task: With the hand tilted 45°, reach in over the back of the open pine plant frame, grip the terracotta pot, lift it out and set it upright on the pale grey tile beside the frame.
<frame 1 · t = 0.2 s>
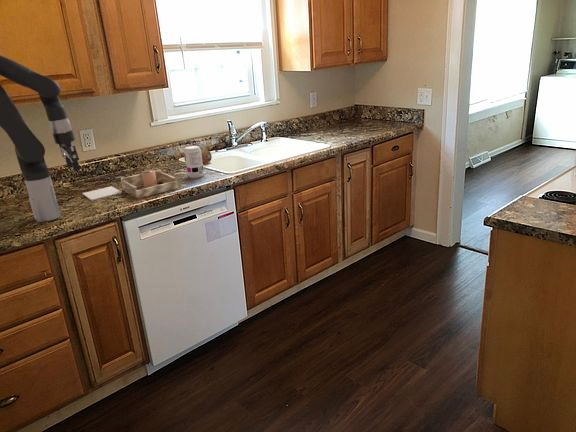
hand: (74, 168, 188), 18 cm above the counter, tool pointing down, fingers open, 8 cm apart
supplement can: (196, 176, 232), on the counter
pot: (151, 189, 214), resting in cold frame
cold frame: (150, 189, 215), on the counter
tile: (102, 193, 213), on the counter
tin: (199, 164, 255), on the counter
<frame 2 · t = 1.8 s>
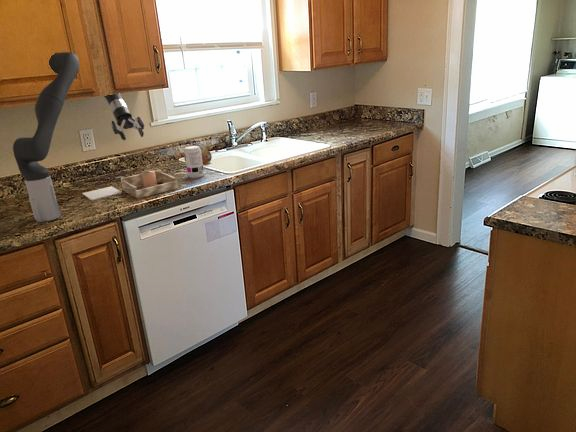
hand: (133, 137, 214), 24 cm above the counter, tool tilted 45°, fingers open, 8 cm apart
nothing on the counter moved.
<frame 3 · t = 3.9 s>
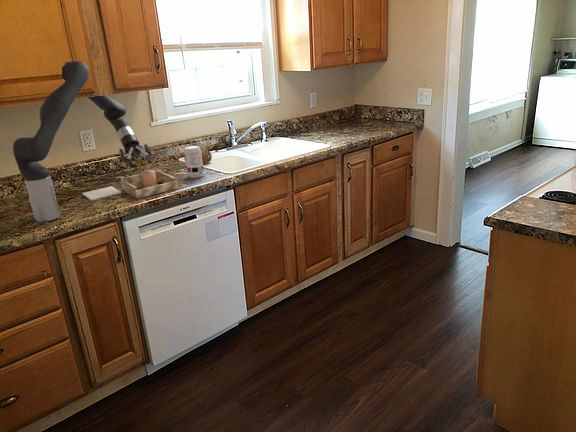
hand: (141, 164, 216), 11 cm above the counter, tool tilted 45°, fingers open, 8 cm apart
nothing on the counter moved.
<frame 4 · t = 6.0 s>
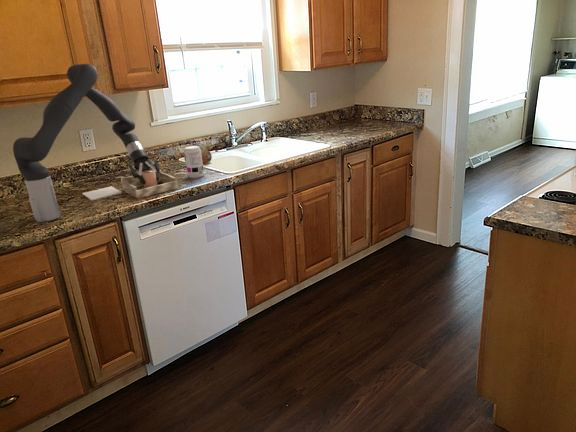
hand: (151, 181, 212), 4 cm above the counter, tool tilted 45°, fingers closed on pot, 6 cm apart
pot: (151, 189, 214), resting in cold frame, touching gripper
everything else where it was.
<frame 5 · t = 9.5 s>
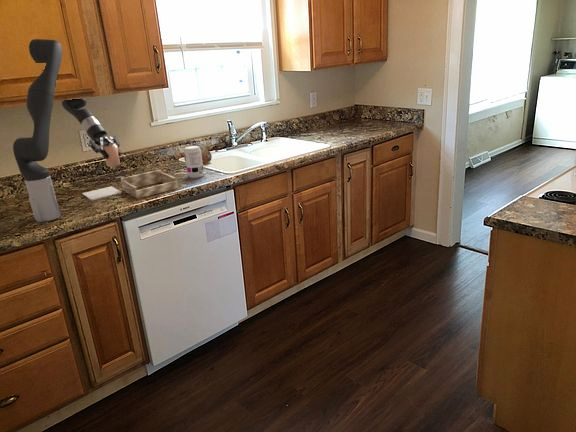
hand: (114, 156, 208), 17 cm above the counter, tool tilted 45°, fingers closed on pot, 6 cm apart
pot: (113, 164, 210), point 13 cm above the counter, touching gripper
everything else where it was.
when the fingers open (6 cm above the counter, at t = 13.0 s): pot drops 1 cm, resting on tile.
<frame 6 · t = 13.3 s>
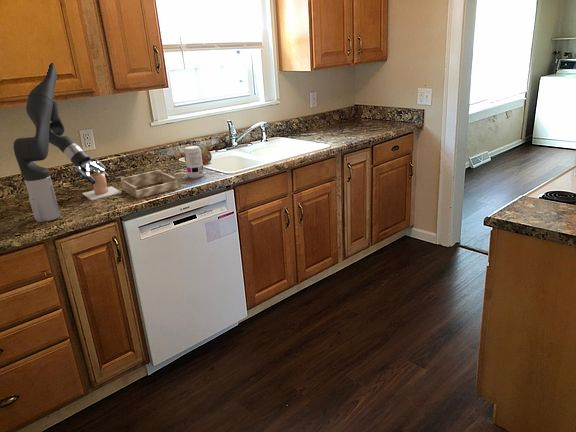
hand: (101, 180, 210), 7 cm above the counter, tool tilted 45°, fingers open, 8 cm apart
pot: (101, 192, 213), point 1 cm above the counter, touching tile
everything else where it was.
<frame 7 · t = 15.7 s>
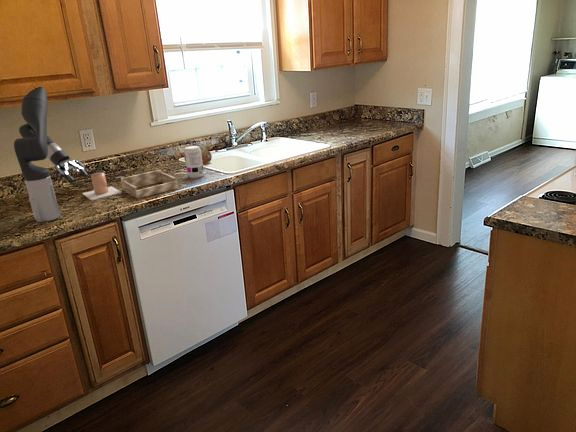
hand: (80, 179, 215), 7 cm above the counter, tool tilted 45°, fingers open, 8 cm apart
nothing on the counter moved.
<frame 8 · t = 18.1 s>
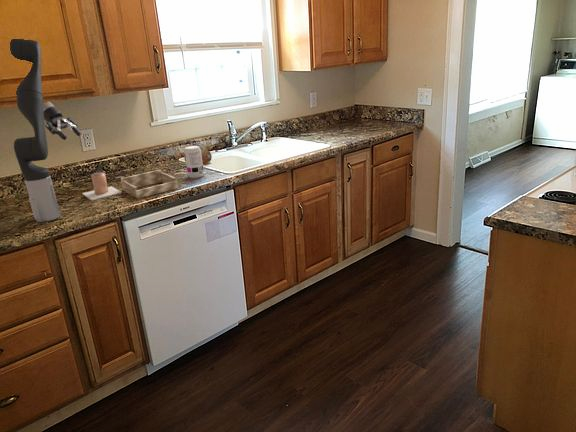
hand: (73, 136, 209), 27 cm above the counter, tool tilted 45°, fingers open, 8 cm apart
nothing on the counter moved.
at the end: pot inside the target area on the tile (0.2 cm from its centre), point 0.7 cm above the tile's base; pot tilted 1°; the gripper is holding nothing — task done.
